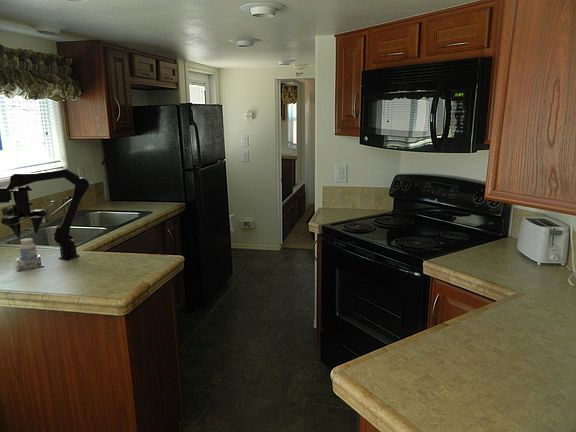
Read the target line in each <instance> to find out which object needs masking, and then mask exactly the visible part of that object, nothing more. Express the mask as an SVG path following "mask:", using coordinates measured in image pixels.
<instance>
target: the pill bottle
mask: <svg viewBox="0 0 576 432" xmlns="http://www.w3.org/2000/svg"><path fill="white" fill-rule="evenodd" d="M36 247H37V246H36V244H35V243H34V239H33V238H31V237H28V238H27V237H26V238H21V239H20V246H19V252H20V253H19V254H20V257H21V260H29V259H34V258H36V257H37V248H36Z"/></svg>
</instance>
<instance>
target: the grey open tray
mask: <svg viewBox="0 0 576 432" xmlns="http://www.w3.org/2000/svg"><path fill="white" fill-rule="evenodd" d="M15 264H16V265H15V266H16V270H17V272H23V271H29V270H33V269H39V268H44V267H45V265H44V263H43V259H42V257H41V255H40V253H39V254H37V257H36V258H34V259H29V260H21V256H19V257H17V258H16V261H15Z"/></svg>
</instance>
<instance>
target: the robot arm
mask: <svg viewBox="0 0 576 432" xmlns="http://www.w3.org/2000/svg"><path fill="white" fill-rule="evenodd" d="M63 178H64V179H66V180H67V181H68V182H70V183H71V184H73V185H74V189H73V193H72V197H71V199H70V202H69V205H68V208H67V210H66V213H65V214H64V218H63V220H62V222H61V224H56V229H55V231H54V232H53V236H54V239H53V240H54V241H55V243H56V244H59V251H60V252H59V253H60V257H58V259H59V260H66V261H67V260H69V261H70V260H72V259H75V258H78V257H80V254H78V252H77V247H76V244H75V237H73V236H72V235H70V231H71V225H72V223H73V220H74V218H75V215H76V213H77V210H78V208H79V205H80V202H81V201H82V200H81V199H83V197H84V196H85V194H86V192H87V190H88V189H89V187H90V181H89V179H87V178H86V177H84V176H80V175H78V174H76V173H74V172H72V171H71V170H69V169H68V168H61V169H54V170H47V171H40V172H15V173H13V174H11V176H10V177H9V183H8V184H7V186H6V187H0V204H6V203H11V201H12V200H13V202H14V203H13V204H12V208H8V207H4V208H2V209H1V213H2V216H4V217H2V218H1V220H0V221H1V225H5V226H7V227H8V228H10V229H11V230H12V232H13V233H14V235H15V237H16V238H17V239H20V238H21V231H22V230H21V225H22V224H21V223H20V221H22V220H25V219H30V220H31V222H32V227H33V231H34V233H35V234H37V233H38V231H39V230H40V227H41V224H42V222H43V220H44V219H45V217H47V212H46V211H45V210H44V209H31V208H32V207H31V206H32V205H33V203H32V202H30V195H29V192H30V191H33V189H34V188H33V187H31V186H30V184H32V183H36V182H42V181H48V180H56V179H63ZM23 186H24V187H23ZM25 186H26V187H25ZM15 188H17V189H15Z"/></svg>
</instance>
